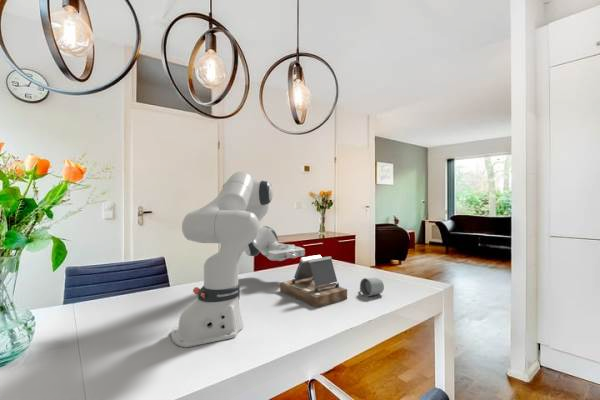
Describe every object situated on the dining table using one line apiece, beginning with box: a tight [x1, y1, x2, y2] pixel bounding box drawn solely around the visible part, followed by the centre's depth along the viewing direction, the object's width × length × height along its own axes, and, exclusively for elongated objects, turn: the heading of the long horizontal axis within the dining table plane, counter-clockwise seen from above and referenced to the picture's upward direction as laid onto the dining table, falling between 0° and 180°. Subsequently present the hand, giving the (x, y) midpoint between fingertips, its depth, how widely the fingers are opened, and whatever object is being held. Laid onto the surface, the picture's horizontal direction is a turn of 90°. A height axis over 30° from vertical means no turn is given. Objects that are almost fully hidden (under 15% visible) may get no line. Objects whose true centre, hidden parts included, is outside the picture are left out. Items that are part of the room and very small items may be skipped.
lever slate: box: [309, 256, 338, 287], centre depth 130 cm, size 11×2×11 cm, turn 127°
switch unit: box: [279, 277, 348, 308], centre depth 133 cm, size 17×26×6 cm, turn 37°
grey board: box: [293, 254, 322, 280], centre depth 138 cm, size 11×2×11 cm, turn 127°
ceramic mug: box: [359, 277, 385, 297], centre depth 135 cm, size 11×8×8 cm
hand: (295, 256), depth 147 cm, fingers closed
